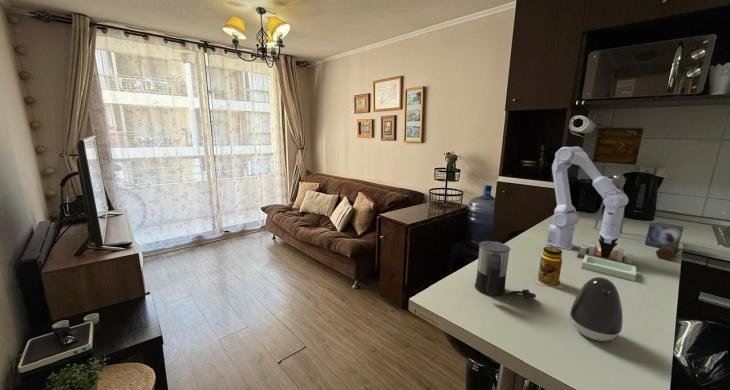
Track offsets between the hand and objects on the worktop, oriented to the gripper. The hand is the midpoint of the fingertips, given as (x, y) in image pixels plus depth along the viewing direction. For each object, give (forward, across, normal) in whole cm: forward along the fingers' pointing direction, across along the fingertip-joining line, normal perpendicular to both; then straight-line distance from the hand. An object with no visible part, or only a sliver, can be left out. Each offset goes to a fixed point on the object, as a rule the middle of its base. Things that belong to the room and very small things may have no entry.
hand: (605, 255), depth 119 cm
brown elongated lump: (+2, +24, -20) cm, 31 cm away
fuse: (+2, 0, 0) cm, 2 cm away
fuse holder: (+2, 0, 0) cm, 2 cm away
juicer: (+2, +42, 0) cm, 43 cm away
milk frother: (+2, -55, +22) cm, 60 cm away
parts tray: (+2, -12, -2) cm, 12 cm away
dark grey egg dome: (+2, -60, 0) cm, 61 cm away
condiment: (+2, -36, +14) cm, 39 cm away
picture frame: (+2, +36, -18) cm, 40 cm away
